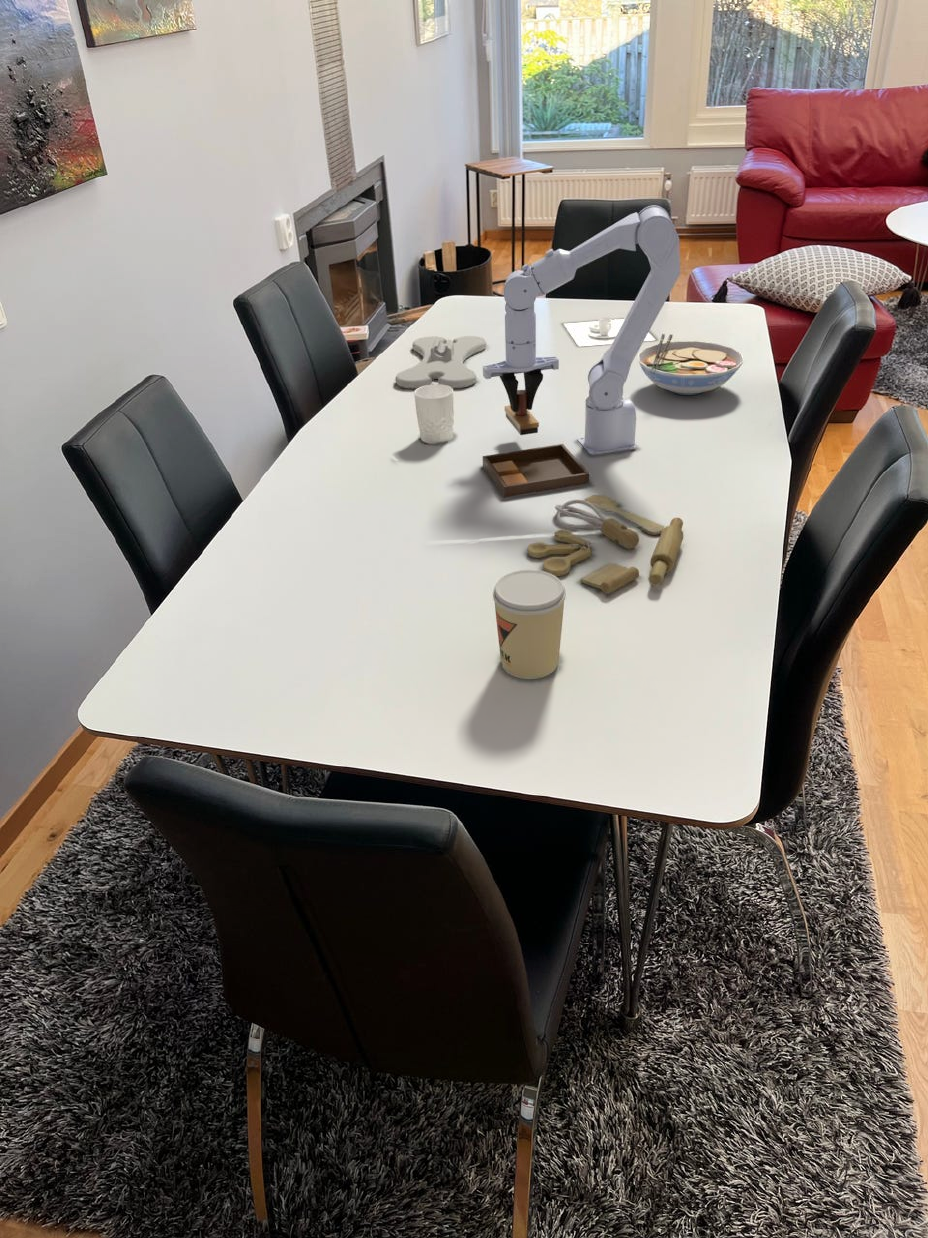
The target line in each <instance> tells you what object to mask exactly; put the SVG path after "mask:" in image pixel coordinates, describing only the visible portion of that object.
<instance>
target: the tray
mask: <svg viewBox="0 0 928 1238" xmlns="http://www.w3.org/2000/svg"><path fill="white" fill-rule="evenodd" d="M506 461H513V463H514V464H515V466H516V467H517V468H518V473H521V474H522V475H523V476H524V478H525V479H526V480H527V482H525V483H518V484H512V485H507V486H506V484H505V483H504V481H503V480H502V479H501V477H500V476H499V474H498V473H497V472H496V470H495V469H494V467H493V466H492V464H493V463H500V462H506ZM482 467H483V469H484V470H485V472H486V473H487V475H488V476H489V478H490V479H491V480H492V482H493V484H494V485H495V486H496V488H497V489H498V490H499V493H501V495H502V496H503V498H510V497H516V496H523V495H528V494H535V493H540V492H546V491H553V490H560V489H564V488H571V487H572V488H573V487H577V486H578V487H579V486H583V485H589V484H590V472H589V470H587V469H586V468H585V466H584V465H583V464H582V463H581V462H580V461H579V460H578V458H576V457H575V455H573V453H572V452H571V451H570V450H569V449H568V448H567V447H566V446H565V444H564V443H559V444H552V445H546V446H540V447H533V448H527V449H520V450H514V451H508V452H501V453H495V454H488V455H482Z"/></svg>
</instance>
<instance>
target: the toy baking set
mask: <svg viewBox="0 0 928 1238" xmlns="http://www.w3.org/2000/svg"><path fill="white" fill-rule="evenodd" d="M576 504H581V505H586V506H587V507H589V508H590V509H592V511H594V512H595V514H596V515H595V514H593V513H591V512H589V511H586V510H585V509H581V508H578V507H575V506H572V505H576ZM619 504H620V503H619V502H618V501H616V500H615V499H613V498H611V497H609V496H606V495H604V494H593V495H591V496H588V497H587V498H584V499H571V500H568V501H566V502H564V503H563V504H555V506H554V509H555V510H556V514H555V518H556V521H557V522H558V523H559V524H561V525H563V526H565V527H568V528H573V529H598V530H601V533H602V534H603V535H604V536H605V537H607V538H608V539H610V540H612V541H613V542H615V543H618V544H619V545H620V546H621V547H623V548H624V549H626V550H627V549H628V550H630V549H634V548H635V547H637V546H638V544H639V542H640V536H639V535H638V533H637V532H636V531H635V530H633V529H631V528H628V527H627V526H626V525H624V524H623V523H621V522H620V521H618V520H616V519H615V518H613V517H609V518H606V517H605V515H604V514H603V513H602V512H601V510H602V511H604V512H606V513H607V512H608V513H615V514H617V515H619V516H620V517H622V518H624V519H626V520H627V521H629V522H631V523H632V524H634V525H636V526H637V528H638V529H640V530H641V531H643V532H644V533H646V534H649V535H650V536H651V535H652V536H658V535H660V536H659V538H658V540H657V543H656V546H655V548H654V550H653V553H652V555H651V558H650V567H651V571H650V574H649V577H648V580H649V582H650V584H652V585H654V586H659V585H661V584H662V582H663V580H664V578H665V575H666V574H668V573H669V572H671V571H672V570H673V568H674V566H675V562H676V560H677V556H678V554H679V551H680V548H681V545H682V543H683V540H684V532H683V530H682V528H683V526H684V522H683V519H682V518H681V517H673V518H672V519H671V521H670V523H669V525H666V526H665V527H664V526H663V525H661V524H659V523H656V522H654V521H652V520H649V519H647V518H645V517H642V516H640V515H637V514H634V513H632V512H630V511H628V510H625V509H623V508H620V507H619V506H618V505H619ZM561 514H563V515H566V516H569V517H573V518H575V519H579V520H583V521H587V522H588V523H586V524H585V523H584V524H573V523H568V522H565V520H564V521H563V520H562V518H561ZM589 522H590V524H589ZM554 539H555V540H556V541H558V542H561V543H565V544H548V543H546V542H541V541H540V542H539V541H537V542H536V541H535V542H532V543H530V544H529V545H528V546H527V554H528V556H530V557H532V558H536V559H540V558H541V559H542V558H545V557H547V556H550V555H566V556H564V557H563V556H552V557H548V558H546V559H545V560H544V561H543V562H542V571H544V572H547V573H550V574H552V575H554V576H556V577H561V576H564V575H567V574H568V573H569V572H570V571H571V566H573V565H575V564H577V563H579V562H581V561H584V560H585V559H588V558H589V557H590V556H591V555H592V548H591V541H589V540H588V539H584V538H583V537H580V536H578V535H575V534H573V533H572V531H571V530H570V529H558V530H556V531H555V533H554ZM639 576H640V571H639V569H638V568H637V567H636V566H629V567H625V566H623V565H619V564H616V563H614V562H610V563H608V564H606V565H604V566H602V567H600V568H598V569H596V570H594V571H593V572H590V573H589V574H587V575H585V576H584V577H581V578H580V579H579V580H580V583H582V584H584V585H587V586H591V587H593V588H596V589H600V590H601V592H602V593H603V594H606V595H609V594H611V593H613V592H615V591H617V590H618V589H620V588H622V587H623V586H625V585H627V584H629V583H631V582H632V581H635V580H636V579H638V578H639Z"/></svg>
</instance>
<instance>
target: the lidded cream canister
mask: <svg viewBox="0 0 928 1238" xmlns="http://www.w3.org/2000/svg"><path fill="white" fill-rule="evenodd" d="M566 594H567V593H566V587H565V586H564V584H563V582H562V581H561V579H560V578H559V577H558V576H554V575H552V574H550V573H547V572H544V571H543V570H537V569H523V570H521V569H520V570H515V571H512V572H510V573H506V574H505V575H503V576H502V577H500V578H499V579H498V580H497V582H496V583H495V586H494V587H493V590H492V598H493V601H494V611H495V620H496V628H497V629H496V630H497V636H498V639H497V640H498V648H499V657H500V662H501V666H502V668H503V670H504V671H505V672H506V673H507V674H509V676H512V677H515V678H517V679H521V680H538V679H542V678H545V677H548V676H549V675H551V674H553V672H555V671H556V669H557V668H558V664H559V660H560V651H561V650H560V649H561V642H562V641H561V640H562V631H563V630H562V629H563V618H564V608H565V600H566V597H567V596H566Z"/></svg>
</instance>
